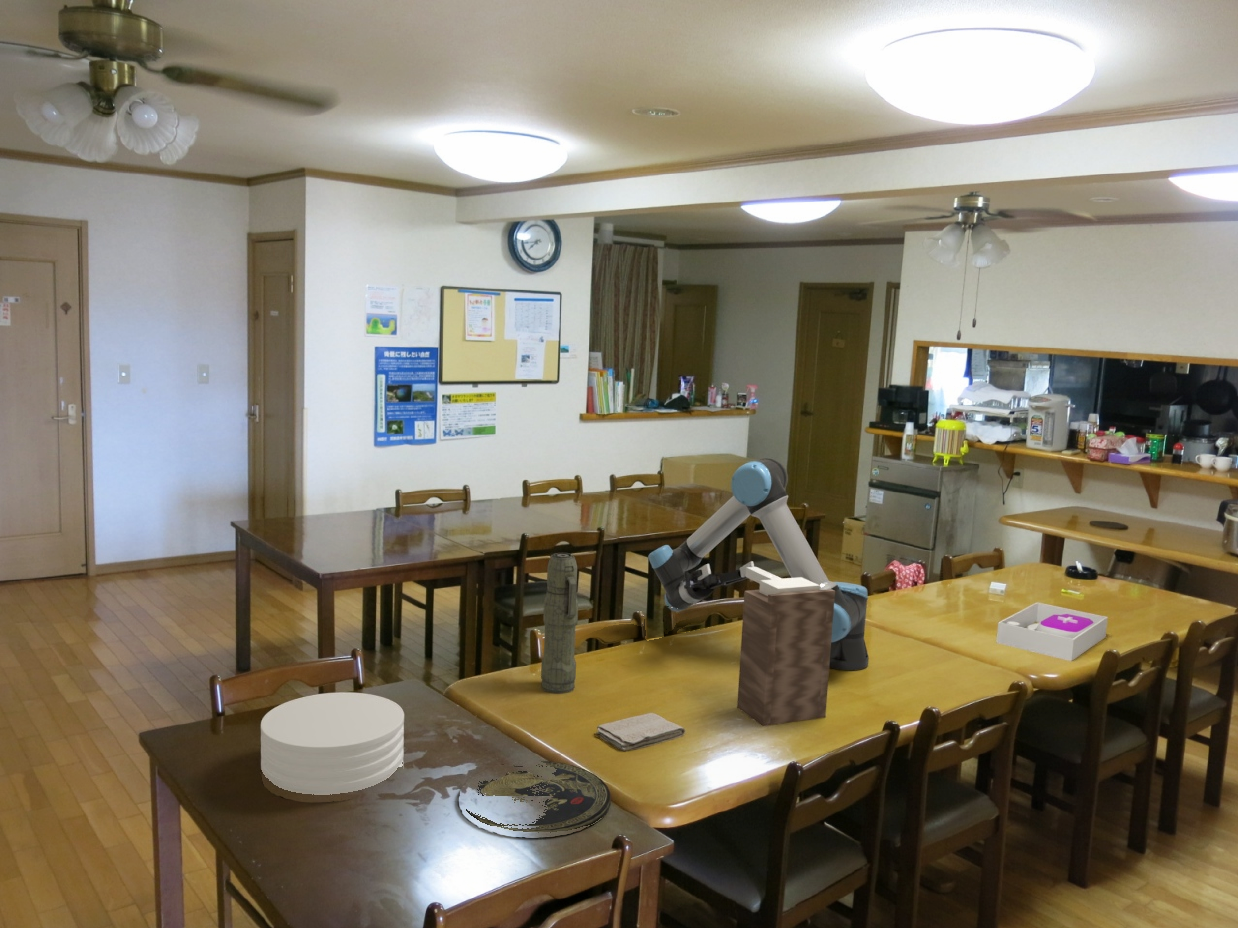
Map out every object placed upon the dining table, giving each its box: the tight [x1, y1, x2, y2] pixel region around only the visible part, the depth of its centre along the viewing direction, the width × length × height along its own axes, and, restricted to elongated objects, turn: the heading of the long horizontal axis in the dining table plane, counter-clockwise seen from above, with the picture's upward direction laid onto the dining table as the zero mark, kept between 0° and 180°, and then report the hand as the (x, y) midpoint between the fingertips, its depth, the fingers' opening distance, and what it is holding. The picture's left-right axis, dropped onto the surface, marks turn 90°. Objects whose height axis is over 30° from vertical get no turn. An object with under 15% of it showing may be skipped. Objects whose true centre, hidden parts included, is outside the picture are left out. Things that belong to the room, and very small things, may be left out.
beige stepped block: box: [746, 566, 820, 596], centre depth 244 cm, size 12×22×3 cm, turn 24°
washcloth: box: [596, 712, 686, 752], centre depth 224 cm, size 12×18×3 cm, turn 128°
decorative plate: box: [466, 760, 612, 833], centre depth 192 cm, size 30×2×30 cm
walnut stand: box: [736, 589, 835, 727], centre depth 239 cm, size 18×12×32 cm, turn 114°
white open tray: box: [996, 602, 1109, 662], centre depth 311 cm, size 22×35×7 cm, turn 138°
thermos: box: [540, 552, 579, 695], centre depth 249 cm, size 9×12×35 cm
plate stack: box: [260, 691, 405, 795], centre depth 200 cm, size 28×28×12 cm
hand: (731, 567), depth 262 cm, fingers open, 13 cm apart
